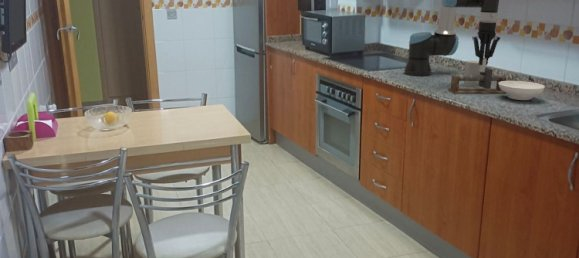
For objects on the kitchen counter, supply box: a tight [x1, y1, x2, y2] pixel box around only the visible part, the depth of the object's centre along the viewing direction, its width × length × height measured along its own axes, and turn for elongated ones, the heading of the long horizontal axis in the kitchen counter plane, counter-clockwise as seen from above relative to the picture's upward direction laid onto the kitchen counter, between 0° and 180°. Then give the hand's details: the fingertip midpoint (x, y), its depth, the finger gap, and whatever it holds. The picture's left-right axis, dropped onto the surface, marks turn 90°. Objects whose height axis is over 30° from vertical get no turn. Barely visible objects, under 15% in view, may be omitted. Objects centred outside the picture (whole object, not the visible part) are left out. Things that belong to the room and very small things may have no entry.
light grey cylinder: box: [462, 60, 480, 88], centre depth 277 cm, size 8×8×12 cm
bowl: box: [498, 80, 546, 101], centre depth 246 cm, size 20×20×7 cm
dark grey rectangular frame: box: [478, 66, 493, 89], centre depth 259 cm, size 2×8×9 cm, turn 5°
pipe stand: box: [447, 74, 507, 95], centre depth 260 cm, size 26×8×9 cm, turn 95°
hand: (482, 71), depth 258 cm, fingers closed
